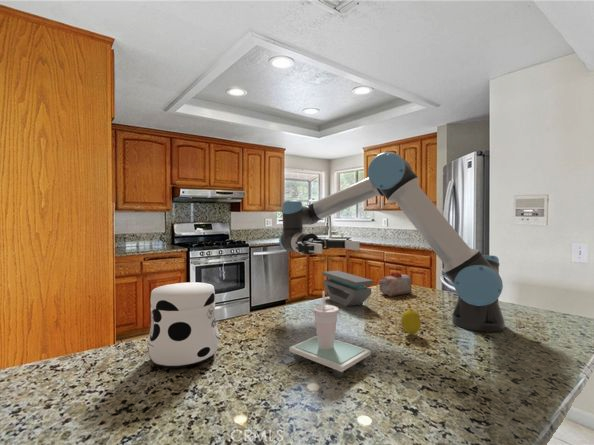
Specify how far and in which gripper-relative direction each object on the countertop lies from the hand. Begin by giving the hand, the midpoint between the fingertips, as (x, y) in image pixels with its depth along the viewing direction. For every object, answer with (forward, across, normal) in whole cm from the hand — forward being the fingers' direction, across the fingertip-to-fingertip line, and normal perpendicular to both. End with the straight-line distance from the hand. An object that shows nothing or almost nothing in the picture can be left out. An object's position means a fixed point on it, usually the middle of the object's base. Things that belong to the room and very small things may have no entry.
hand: (340, 247), depth 99 cm
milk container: (-7, +44, -26) cm, 52 cm away
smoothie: (+12, +14, -23) cm, 29 cm away
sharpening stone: (-30, -24, -27) cm, 47 cm away
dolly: (+13, +13, -27) cm, 32 cm away
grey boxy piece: (-30, -51, -27) cm, 65 cm away
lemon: (+10, -18, -27) cm, 34 cm away
